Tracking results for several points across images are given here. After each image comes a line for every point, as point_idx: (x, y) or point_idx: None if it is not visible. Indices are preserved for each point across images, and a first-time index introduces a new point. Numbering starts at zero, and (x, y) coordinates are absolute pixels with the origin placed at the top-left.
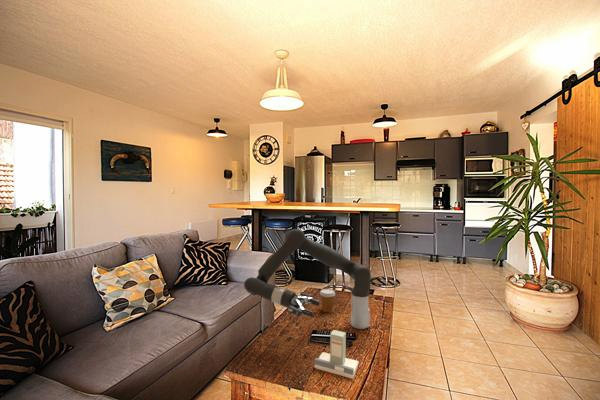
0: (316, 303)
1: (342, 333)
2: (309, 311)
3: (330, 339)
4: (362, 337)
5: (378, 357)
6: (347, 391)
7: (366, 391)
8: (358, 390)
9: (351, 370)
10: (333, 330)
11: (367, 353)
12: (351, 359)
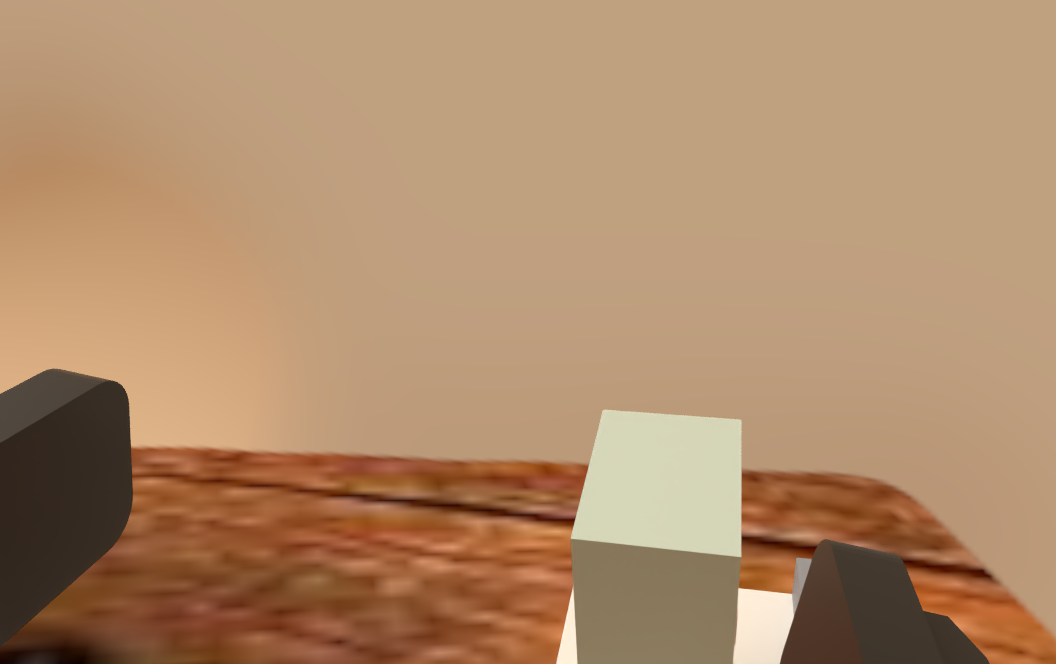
0: (54, 515)
1: (645, 434)
2: (924, 634)
3: (734, 624)
4: (68, 589)
5: (428, 477)
6: (1026, 651)
7: (913, 531)
8: (944, 577)
9: None
10: (594, 534)
11: (375, 542)
12: (566, 625)
